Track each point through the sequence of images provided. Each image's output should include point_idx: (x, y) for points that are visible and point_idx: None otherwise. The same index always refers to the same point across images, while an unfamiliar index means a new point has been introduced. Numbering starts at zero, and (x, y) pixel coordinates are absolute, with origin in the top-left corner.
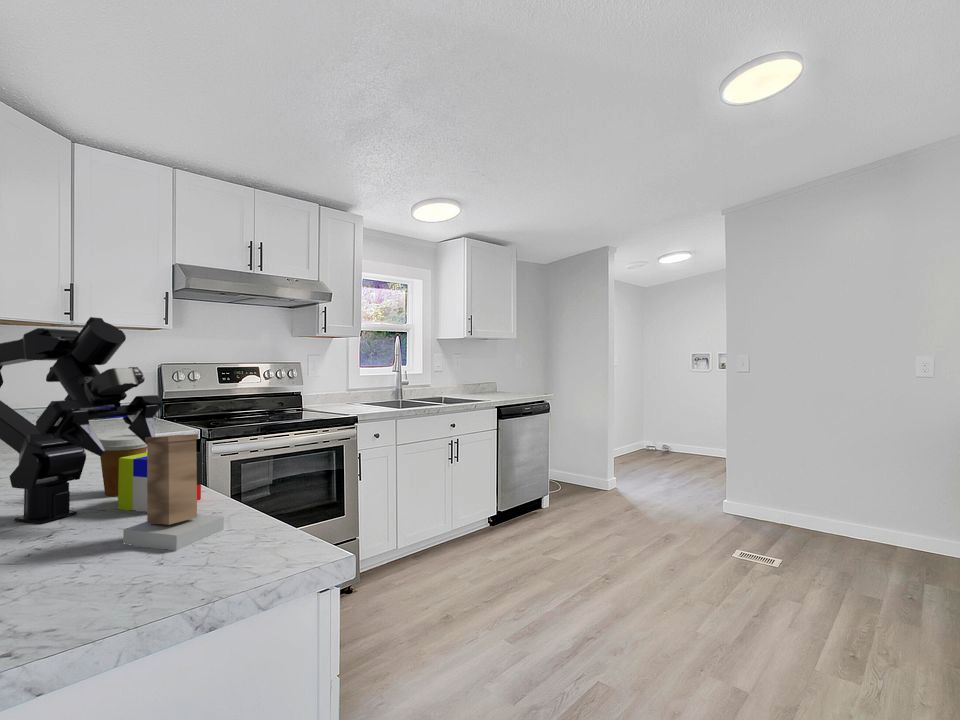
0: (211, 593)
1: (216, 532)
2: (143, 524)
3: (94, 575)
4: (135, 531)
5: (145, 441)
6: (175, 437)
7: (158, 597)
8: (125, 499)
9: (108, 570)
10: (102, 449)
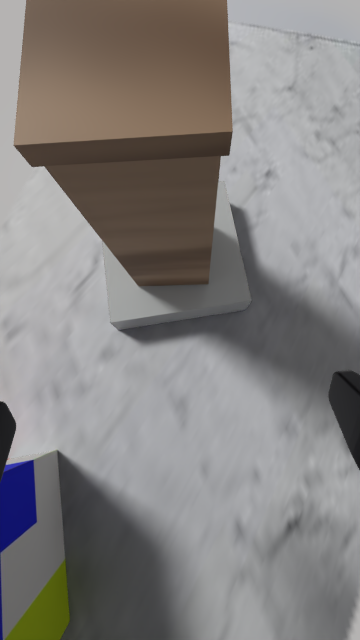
0: (296, 51)
1: None
2: (210, 295)
3: (349, 214)
4: (244, 271)
5: (229, 148)
6: None
7: (338, 88)
8: (53, 611)
9: (327, 215)
10: (356, 378)
